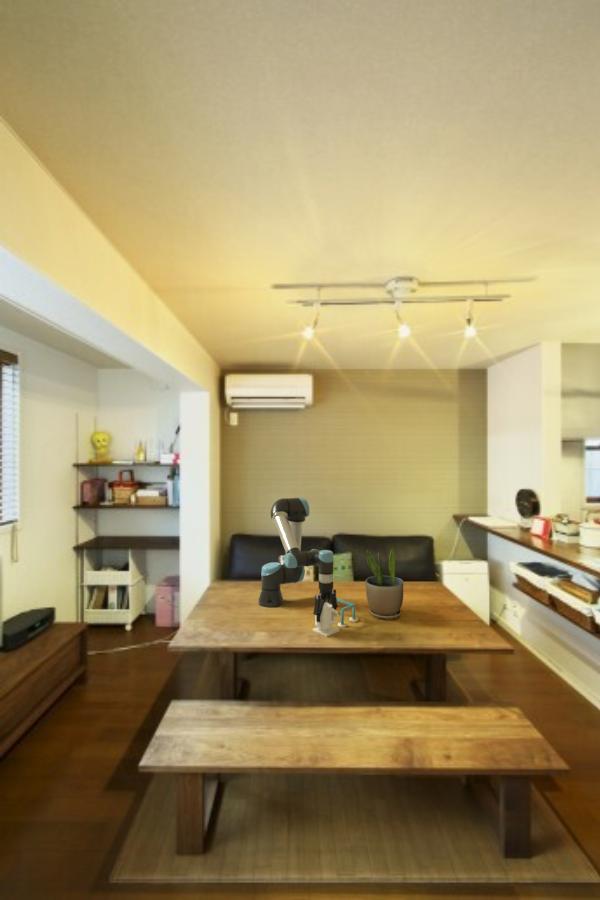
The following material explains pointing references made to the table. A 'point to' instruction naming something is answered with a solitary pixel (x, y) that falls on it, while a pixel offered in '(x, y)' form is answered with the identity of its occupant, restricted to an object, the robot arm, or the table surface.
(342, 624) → the wire course
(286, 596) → the table surface
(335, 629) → the coaster
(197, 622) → the table surface
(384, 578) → the potted plant
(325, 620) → the mug
